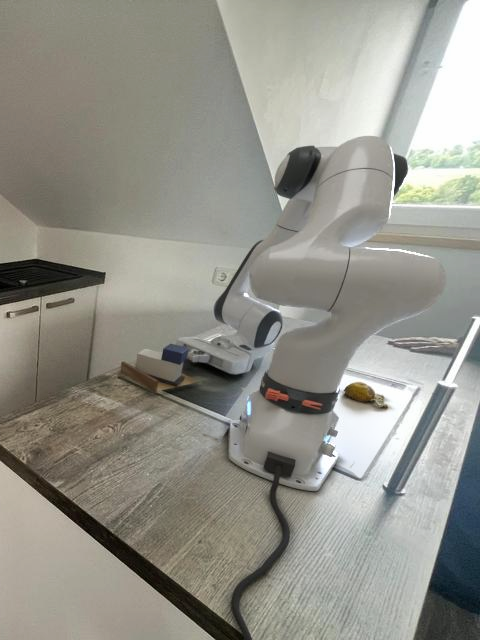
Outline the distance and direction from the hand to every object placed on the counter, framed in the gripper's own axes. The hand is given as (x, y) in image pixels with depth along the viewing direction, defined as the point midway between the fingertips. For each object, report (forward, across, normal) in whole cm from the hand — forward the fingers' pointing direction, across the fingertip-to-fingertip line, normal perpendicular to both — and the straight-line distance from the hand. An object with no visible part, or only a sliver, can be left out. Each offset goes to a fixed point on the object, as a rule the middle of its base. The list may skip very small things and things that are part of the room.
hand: (189, 357), depth 107 cm
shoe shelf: (+10, 0, +5) cm, 11 cm away
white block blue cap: (+10, 0, +4) cm, 11 cm away
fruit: (-31, +28, +5) cm, 42 cm away
